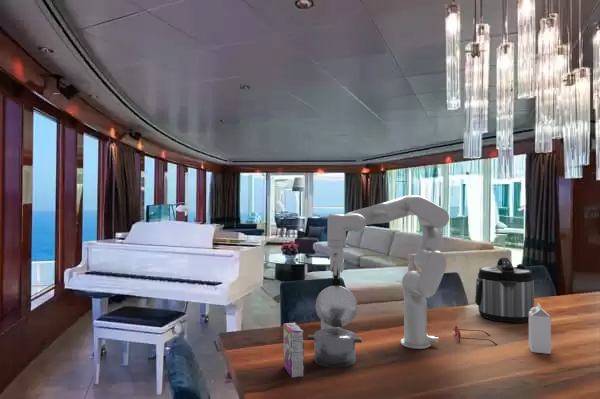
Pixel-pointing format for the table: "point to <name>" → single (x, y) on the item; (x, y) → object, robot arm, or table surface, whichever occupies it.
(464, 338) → the glasses
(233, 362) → the table surface
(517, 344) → the table surface
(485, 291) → the pressure cooker
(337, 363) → the pot
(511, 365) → the table surface
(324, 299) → the lid
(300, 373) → the candy bar box
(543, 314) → the milk carton
